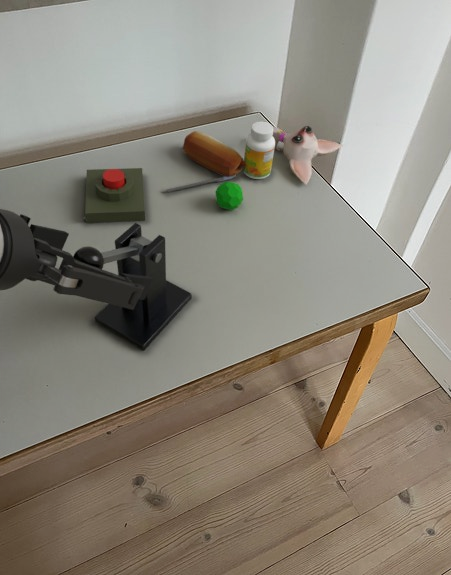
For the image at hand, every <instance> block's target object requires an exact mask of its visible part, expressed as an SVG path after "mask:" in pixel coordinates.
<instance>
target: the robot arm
mask: <svg viewBox="0 0 451 575" xmlns="http://www.w3.org/2000/svg"><path fill="white" fill-rule="evenodd" d="M31 219H32V218H31V217H29V216H28V215H25V214H22V213H21V214H18V213H15V212H14V211H11V210H7V209H3V208H0V291H7V290H9V289H12V288H14V287H16V286H17V285H19V284H20V283H22V282H23V281H24V280H28V281H31V282H37V281H39V282H42V283H45V284H49V285H50V286H51V285H52V286H53V291H54V292H55V293H56V294H58V295H65V296H73V297H79V298H83V299H88V300H91V301H95V302H98V303H99V302H100V303H104V304H107V305H108V304H112V305H115V306H116V307H117V308H121V307H124V308H127V309H132V310H133V309H134V308H135V305H136V303H137V301H138V300H145V298H146V295H147V293H148V291H149V289H150V287H151V284H152V282H153V280H154V279H152V278H151V277H148V276H140V275H131V274H123V273H121V275H120V276H119V275H118V274H116V273H114V272H110V271H109V270H105V269H103V268H102V269H99V268H97V267H94V266H91V265H88V264H85V263H82V262H80V261H77V260H74V257H73V256H74V255H72V253H70V252H69V251H66V250H64V247H65V244H66V242H67V240H68V237H69V236H70V233H68V232H67V231H65V230H61V229H55V228H51V227H47V226H42V225H37V224H32V223H31V224H30V221H31ZM29 224H30V225H29ZM58 257H59V258H62V260H61V262H60V265H59V266H58V268H57V267H56V265H57V262H58Z"/></svg>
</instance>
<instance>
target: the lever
mask: <svg viewBox="0 0 451 575" xmlns="http://www.w3.org/2000/svg"><path fill="white" fill-rule="evenodd" d="M152 241H153V240H150V239H148V238H147V237H144V236H142V237H137V238H132V239H131V240H130V243H129V246H128V247H124V248H119V249H116V248H115V249H112V250H111V249H110V250H107V251H106V250H105V251H103V252H101V251H100V250H99V249H98V248H96V247H93V246H83V247H80V248H78V249H77V250H76V251H75V252H74V253H73V255H72V256H73V257H74V260H77V261H80V262H82V263H85V264H88V265H91V266H94V267H97V268H99V269H102V270H103V268H104V265H105V264H110V263H113V262H117V260H121V259H125V258H128V257H131V258H133V259H135V260H137V261H139V253H140V252H141V251H142V250H143V249H145V248H146V247H147V246H148V245H149V244H150V243H151V242H152ZM139 262H140V261H139Z"/></svg>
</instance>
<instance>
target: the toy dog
mask: <svg viewBox="0 0 451 575" xmlns="http://www.w3.org/2000/svg"><path fill="white" fill-rule="evenodd" d="M272 136H273V137H274V139H275V148H274V149H276V150H277V151H281V150H282V149H281V148H278V145H279V142H281V143H283V150H282V151H283V155H284V156H285V158H287V161H288V163H289V168H290V170H291V172H292V173H293V174H294V176H295V177H297V178H298V179H299V180H300V182H302V183H303V184H304V185H305V186H307V185H308V184H309V182H310V180H311V177H312V174H313V167H312V166H313V165H312V160H313V159H314V158H316V157H321V156H327V155H329V154H331V153H334V152H336V151H337V150H340V148H342V147H343V146H344V145H342V144H340V143H337V142H334V141H330V140H328V139H318V138H317V137H316V135H315V134H314V131H313V129H312V127H311V126H310V125H305V126H303V127H301V128H300V129H298V130H296V131H293V132H292V133H286V132H284V131H283V129H280V128H279V127H278V126H273V135H272Z"/></svg>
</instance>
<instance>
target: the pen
mask: <svg viewBox="0 0 451 575" xmlns="http://www.w3.org/2000/svg"><path fill="white" fill-rule="evenodd" d="M237 176H238V174H236V175H234V176H221V177H217V178H211V179H208V180H204V181H199V182H194V183H189V184H186V185H182V186H177V187H173V188H168V189H166V193H172V192H175V191H181V190H185V189H188V188H193V187H197V186H202V185H207V184H211V183H215V182H217V183H220V182H225V181H228V180H232V179H233V178H235V177H237Z"/></svg>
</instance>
